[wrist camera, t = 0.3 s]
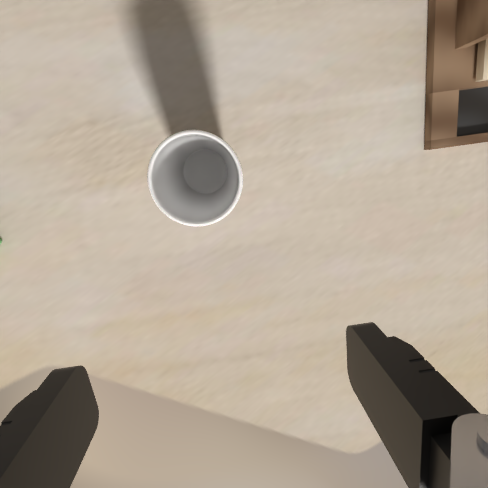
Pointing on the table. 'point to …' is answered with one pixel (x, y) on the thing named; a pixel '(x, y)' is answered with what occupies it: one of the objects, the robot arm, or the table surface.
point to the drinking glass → (195, 178)
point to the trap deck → (455, 74)
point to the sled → (482, 61)
